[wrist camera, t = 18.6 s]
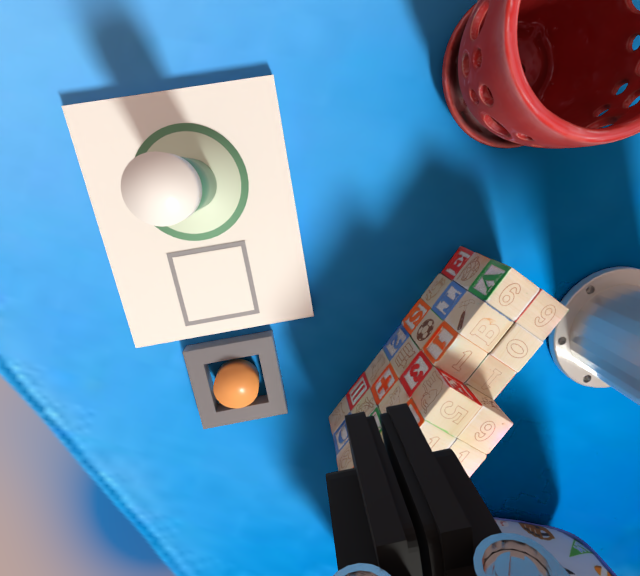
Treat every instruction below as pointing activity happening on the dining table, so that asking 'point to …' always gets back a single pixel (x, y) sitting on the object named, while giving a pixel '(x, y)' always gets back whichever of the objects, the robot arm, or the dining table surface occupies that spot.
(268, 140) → the activity sheet
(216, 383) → the button
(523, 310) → the stack of blocks
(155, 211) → the marker
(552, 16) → the plant pot
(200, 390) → the button housing
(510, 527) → the lunch box
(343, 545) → the robot arm
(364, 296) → the dining table surface
